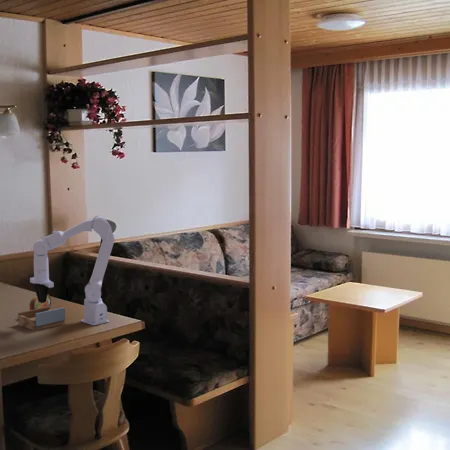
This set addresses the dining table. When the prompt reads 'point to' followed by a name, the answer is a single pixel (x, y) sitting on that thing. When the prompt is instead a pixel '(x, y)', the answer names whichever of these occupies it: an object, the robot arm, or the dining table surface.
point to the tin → (36, 304)
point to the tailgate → (50, 316)
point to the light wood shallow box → (29, 319)
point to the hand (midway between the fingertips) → (42, 302)
